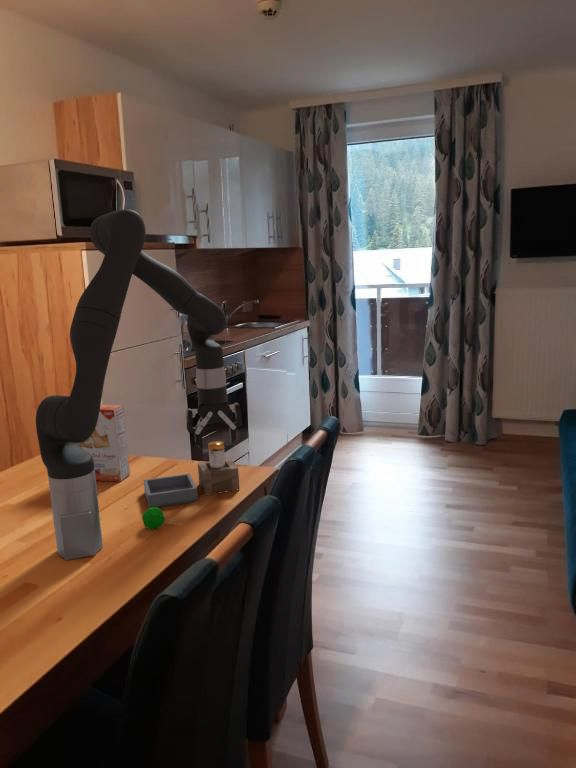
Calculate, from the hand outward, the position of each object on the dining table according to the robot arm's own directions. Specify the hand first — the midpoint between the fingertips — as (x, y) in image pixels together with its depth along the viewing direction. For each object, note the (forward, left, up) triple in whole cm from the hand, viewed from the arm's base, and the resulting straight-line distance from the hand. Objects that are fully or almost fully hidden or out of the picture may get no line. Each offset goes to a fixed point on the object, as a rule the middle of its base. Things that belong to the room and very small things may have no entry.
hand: (216, 444), depth 168 cm
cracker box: (+21, +29, -12) cm, 38 cm away
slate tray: (-2, +13, -12) cm, 18 cm away
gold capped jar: (0, 0, -12) cm, 12 cm away
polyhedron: (-20, +19, -12) cm, 30 cm away
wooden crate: (0, 0, -12) cm, 12 cm away
